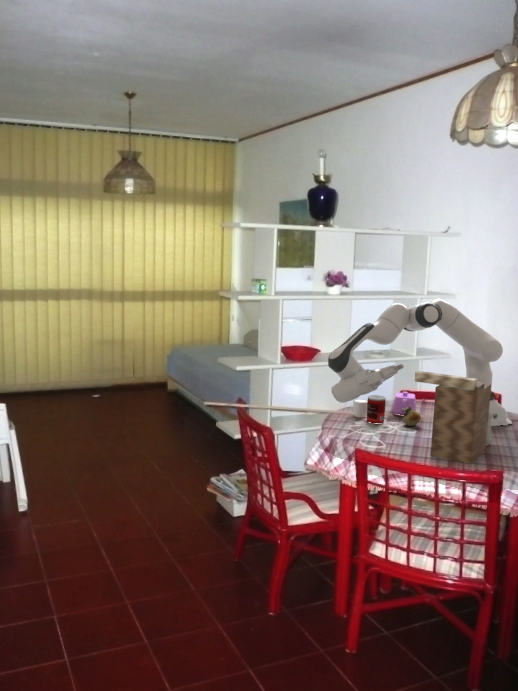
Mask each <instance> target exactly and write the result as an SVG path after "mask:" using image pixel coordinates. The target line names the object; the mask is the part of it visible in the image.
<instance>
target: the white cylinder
mask: <svg viewBox="0 0 518 691" xmlns="http://www.w3.org/2000/svg"><path fill="white" fill-rule="evenodd" d="M367 402H368V399H362V398H356V399H354V400H352V404H353V406H352V408H353V410H352V411H353V416H354V417H356V418H366V417H367ZM365 416H366V417H365Z"/></svg>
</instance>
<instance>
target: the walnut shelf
mask: <svg viewBox="0 0 518 691" xmlns="http://www.w3.org/2000/svg"><path fill="white" fill-rule="evenodd" d="M491 391H492V387H491V384H489V383H481V382H477V386H476V387H475V390H470V389H463V388H456V387H450V386H443V385H436V387H435V392H434V403H433V404H434V405H433V414H432V415H433V417H432V418H433V419H432V430H431V443H430V457H434V458H440V459H445V460H450V461H455V462H460V463H463V464H464V463H465V464H469V465H473V463H474V462H475V461H476V460H477V459H479V457H480V456H481V455H482V454H483V453H484V452H486V448H487V446H486V438H487V427H488V416H489V405H490V394H491Z"/></svg>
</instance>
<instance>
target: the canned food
mask: <svg viewBox="0 0 518 691" xmlns="http://www.w3.org/2000/svg"><path fill="white" fill-rule="evenodd" d="M386 400H387V399H386V397H385V396H383V395H376V394H373V395H369V396H367V401H368V402H367V415H366V422H367V421H368V422H371V423H382V424H384V423H383V422H385V415H386ZM368 422H367V423H368ZM371 423H370V424H371Z"/></svg>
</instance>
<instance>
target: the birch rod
mask: <svg viewBox="0 0 518 691" xmlns="http://www.w3.org/2000/svg"><path fill="white" fill-rule="evenodd" d="M414 382H415V383H423V384H424V383H425V384H430V385H436V386H439V385H443V386H450V387H456V388H463V389H470V390H475V387H476V386H477V379H474V378H467V377H466V376H460V375H459V376H458V375H452V374H443V373H436V372H429V371H422V370H417V371H415V372H414Z"/></svg>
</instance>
